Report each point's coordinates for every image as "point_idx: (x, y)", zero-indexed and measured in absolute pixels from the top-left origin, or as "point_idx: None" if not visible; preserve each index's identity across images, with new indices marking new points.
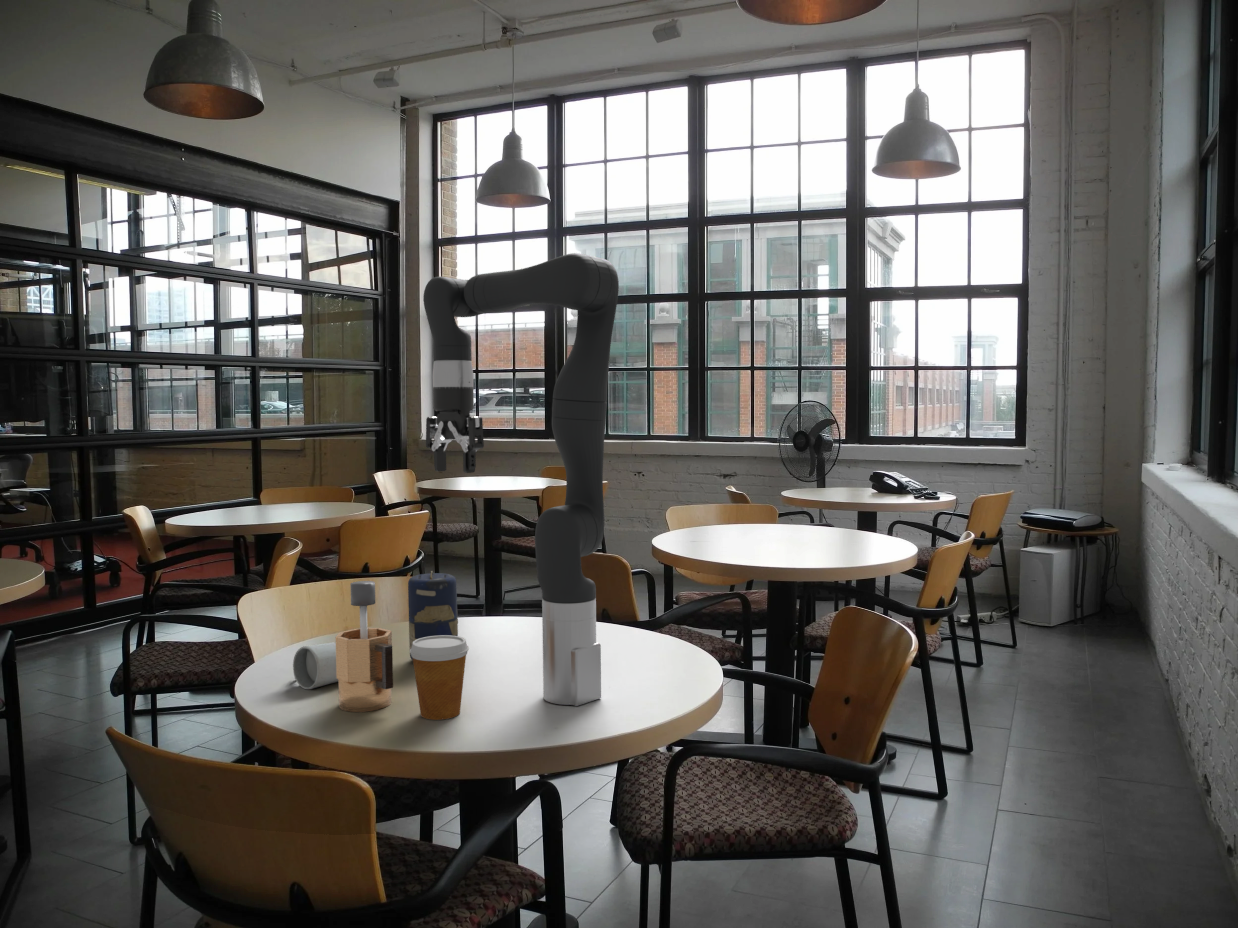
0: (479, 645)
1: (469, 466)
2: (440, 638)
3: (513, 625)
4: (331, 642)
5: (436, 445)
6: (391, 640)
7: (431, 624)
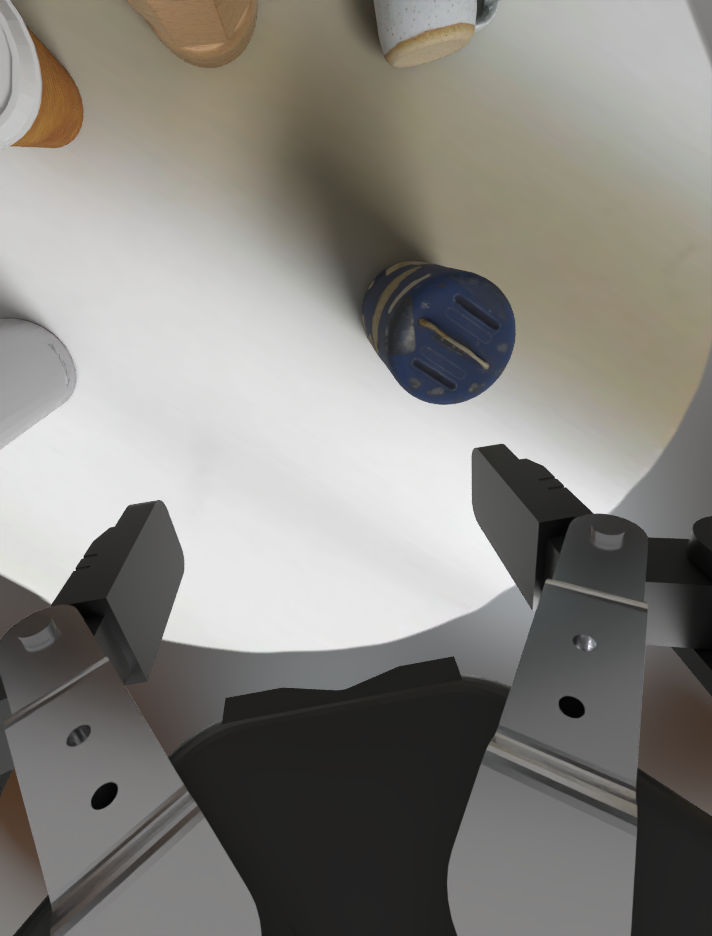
0: (435, 430)
1: (94, 543)
2: (5, 92)
3: None
4: (449, 2)
5: (569, 562)
6: (153, 12)
7: (381, 292)
